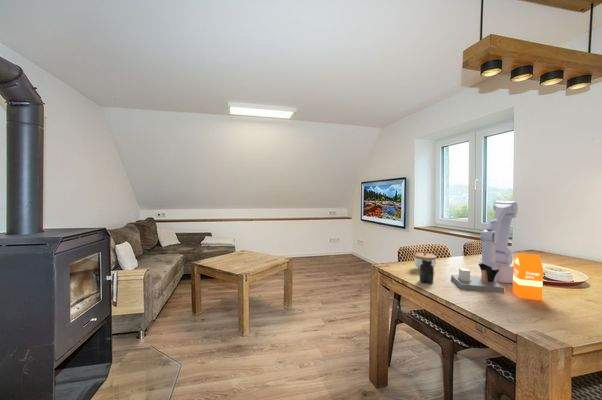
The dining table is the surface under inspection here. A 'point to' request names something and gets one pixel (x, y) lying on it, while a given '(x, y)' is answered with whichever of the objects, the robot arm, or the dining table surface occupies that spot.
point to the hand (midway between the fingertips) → (487, 279)
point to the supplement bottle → (426, 271)
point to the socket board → (474, 282)
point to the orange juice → (528, 276)
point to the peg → (484, 277)
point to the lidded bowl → (420, 256)
